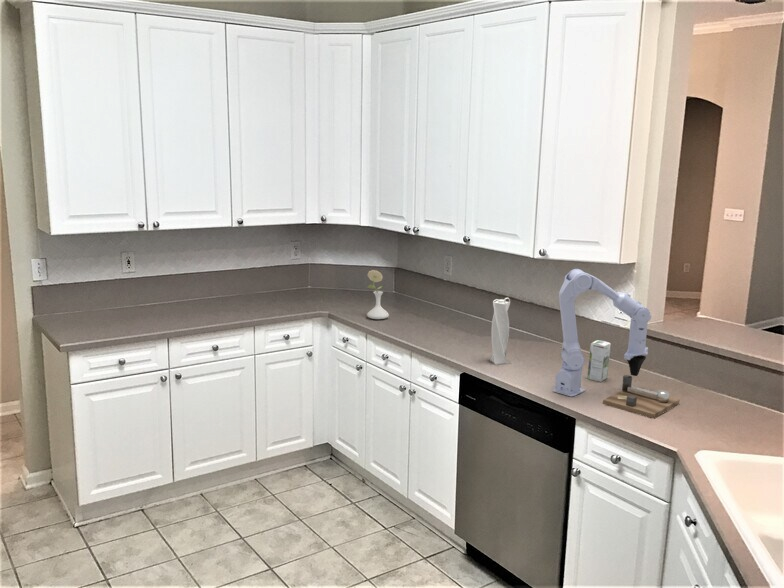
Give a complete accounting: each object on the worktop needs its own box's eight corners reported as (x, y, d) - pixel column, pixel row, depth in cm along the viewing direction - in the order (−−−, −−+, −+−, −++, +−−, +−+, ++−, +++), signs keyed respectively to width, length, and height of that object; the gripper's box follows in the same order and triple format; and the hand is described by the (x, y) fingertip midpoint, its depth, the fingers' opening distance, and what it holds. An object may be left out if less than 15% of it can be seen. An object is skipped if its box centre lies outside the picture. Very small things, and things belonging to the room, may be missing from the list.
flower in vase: (393, 318, 347) (394, 270, 341) (379, 322, 338) (380, 273, 333) (374, 314, 354) (374, 267, 349) (359, 317, 346) (360, 270, 341)
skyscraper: (512, 365, 272) (516, 298, 267) (493, 366, 271) (496, 298, 265) (504, 359, 280) (508, 293, 275) (486, 360, 279) (489, 294, 273)
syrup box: (593, 375, 261) (596, 339, 258) (607, 378, 257) (611, 342, 254) (587, 379, 256) (590, 342, 253) (601, 382, 253) (605, 345, 250)
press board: (653, 418, 218) (655, 405, 217) (602, 403, 231) (603, 391, 230) (679, 403, 232) (680, 391, 231) (629, 390, 245) (630, 378, 244)
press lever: (665, 403, 227) (667, 388, 226) (619, 390, 239) (621, 376, 238) (670, 400, 230) (672, 385, 229) (625, 388, 241) (626, 374, 240)
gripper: (639, 344, 231) (635, 382, 234) (657, 337, 241) (653, 373, 244) (619, 340, 236) (616, 377, 239) (638, 333, 246) (635, 368, 249)
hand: (634, 375), depth 242 cm, fingers closed
